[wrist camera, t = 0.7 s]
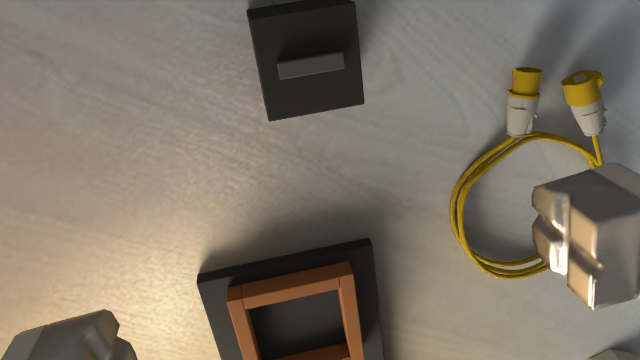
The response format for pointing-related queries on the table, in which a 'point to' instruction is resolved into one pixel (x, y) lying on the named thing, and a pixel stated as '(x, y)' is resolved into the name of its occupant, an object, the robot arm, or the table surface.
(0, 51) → the table surface
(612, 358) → the angled bracket with hole
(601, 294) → the robot arm
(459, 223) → the extension cord
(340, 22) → the black block
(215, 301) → the base pad
